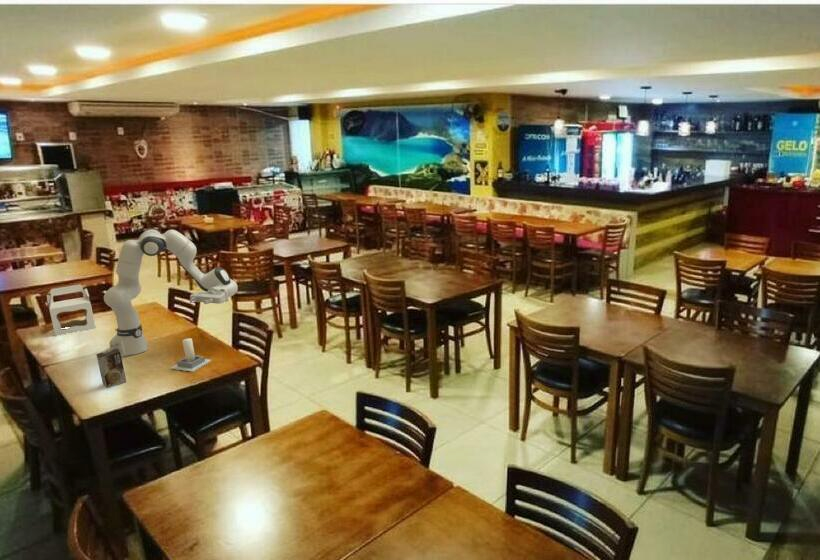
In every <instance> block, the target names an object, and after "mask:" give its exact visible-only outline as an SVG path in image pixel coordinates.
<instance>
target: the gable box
mask: <svg viewBox="0 0 820 560" xmlns="http://www.w3.org/2000/svg"><path fill="white" fill-rule="evenodd" d="M73 293H82V297H77V298H72V299H71V298H70V299H64V300H59V301H54V297H56V296H63V295H68V294H73ZM46 300H47V304H48V310H49V315H50V320H51V322H52V323H51V324H52V327H53V331H54V337H58V336H57V335H60V336H62V335H61V334H65V335H67V334H66V333H70V334H73V333H72V332H75V333H78V332H77V331H80V332H84V330H85V331H89V329H90V330H93V329H96V324H95V319H94V317H95V316H94V313H93V309H92V307H93V306H92V304H91V301H90V294H89V291H88V288H87V287H85V288H84V287H83V285H82V284H80V283H79V284H73V285H68V286H61V287H60V286H59V287H55V288H51V289H50V294H46ZM79 310H84V315H85V319H82V320H80V319H75V320H73V319H72V320H71V321H68V322H65V323H61V318H60V316H59V315H58V314H60V313H65V312H74V311H79ZM65 327H70V328H68V329H61V328H65Z"/></svg>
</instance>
